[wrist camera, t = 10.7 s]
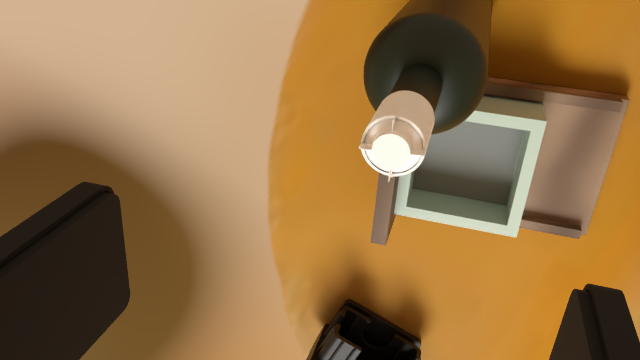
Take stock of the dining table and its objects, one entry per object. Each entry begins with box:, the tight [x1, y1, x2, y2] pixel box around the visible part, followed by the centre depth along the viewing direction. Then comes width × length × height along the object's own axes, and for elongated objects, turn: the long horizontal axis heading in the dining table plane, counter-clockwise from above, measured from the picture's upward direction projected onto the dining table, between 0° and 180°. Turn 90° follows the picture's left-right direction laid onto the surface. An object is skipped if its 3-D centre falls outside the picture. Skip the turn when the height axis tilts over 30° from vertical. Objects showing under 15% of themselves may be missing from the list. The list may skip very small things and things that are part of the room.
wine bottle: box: [358, 0, 492, 182], centre depth 31 cm, size 6×6×30 cm
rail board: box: [371, 77, 629, 245], centre depth 44 cm, size 17×12×9 cm
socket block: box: [394, 94, 547, 238], centre depth 45 cm, size 10×10×4 cm
